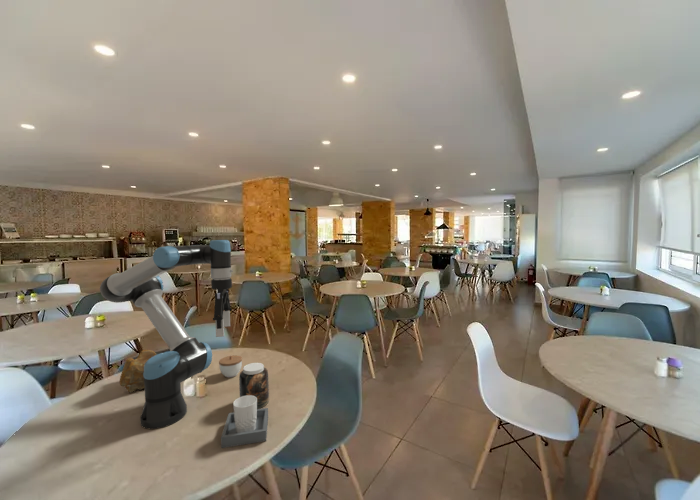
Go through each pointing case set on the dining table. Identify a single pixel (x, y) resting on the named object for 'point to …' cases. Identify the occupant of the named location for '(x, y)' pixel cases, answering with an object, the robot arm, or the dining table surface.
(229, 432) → the tray
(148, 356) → the rough brown rock
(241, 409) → the white cup
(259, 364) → the jar
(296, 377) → the dining table surface
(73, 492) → the dining table surface
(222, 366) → the lidded jar
